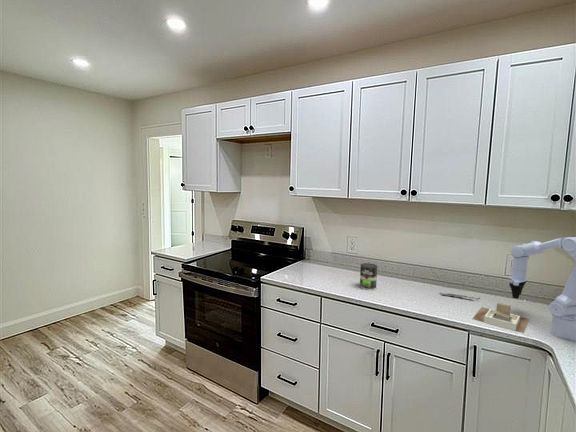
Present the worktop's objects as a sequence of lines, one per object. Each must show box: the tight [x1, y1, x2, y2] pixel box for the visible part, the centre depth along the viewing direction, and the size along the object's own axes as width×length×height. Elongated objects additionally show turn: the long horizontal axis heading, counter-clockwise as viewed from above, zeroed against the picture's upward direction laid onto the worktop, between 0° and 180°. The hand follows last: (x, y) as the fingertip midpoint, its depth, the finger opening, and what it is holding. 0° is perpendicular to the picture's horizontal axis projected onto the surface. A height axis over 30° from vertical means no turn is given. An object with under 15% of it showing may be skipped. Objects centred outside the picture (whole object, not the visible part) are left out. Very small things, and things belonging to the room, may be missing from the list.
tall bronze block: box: [495, 301, 512, 319], centre depth 145 cm, size 2×5×8 cm, turn 47°
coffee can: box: [359, 262, 378, 291], centre depth 193 cm, size 10×10×14 cm
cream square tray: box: [483, 308, 521, 332], centre depth 145 cm, size 12×12×3 cm
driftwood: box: [439, 292, 481, 302], centre depth 179 cm, size 21×7×2 cm, turn 60°
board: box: [471, 306, 530, 334], centre depth 149 cm, size 20×20×1 cm
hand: (516, 296), depth 154 cm, fingers open, 7 cm apart
